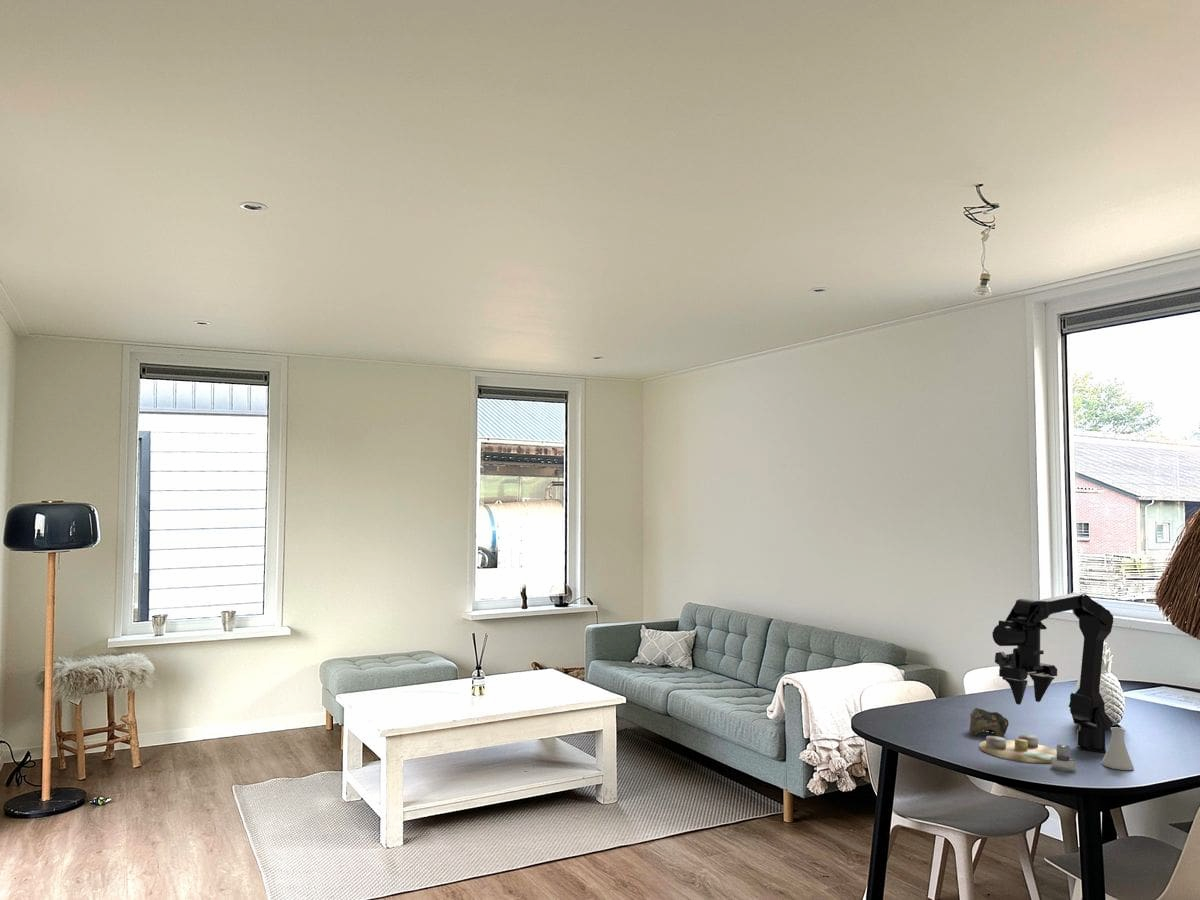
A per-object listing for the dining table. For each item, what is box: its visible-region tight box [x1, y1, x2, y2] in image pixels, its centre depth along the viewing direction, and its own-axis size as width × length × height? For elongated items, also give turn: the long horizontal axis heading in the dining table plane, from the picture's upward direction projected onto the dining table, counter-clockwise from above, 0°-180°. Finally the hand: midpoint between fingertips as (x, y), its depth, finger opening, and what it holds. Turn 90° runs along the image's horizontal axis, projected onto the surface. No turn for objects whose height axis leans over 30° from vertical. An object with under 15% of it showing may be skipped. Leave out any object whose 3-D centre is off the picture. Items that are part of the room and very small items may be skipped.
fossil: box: [968, 707, 1009, 738], centre depth 266 cm, size 11×9×10 cm
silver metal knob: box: [1050, 743, 1076, 773], centre depth 232 cm, size 6×6×6 cm
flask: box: [1101, 726, 1135, 771], centre depth 237 cm, size 7×7×10 cm
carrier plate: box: [979, 733, 1057, 764], centre depth 247 cm, size 21×21×3 cm
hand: (1028, 703), depth 247 cm, fingers open, 9 cm apart
